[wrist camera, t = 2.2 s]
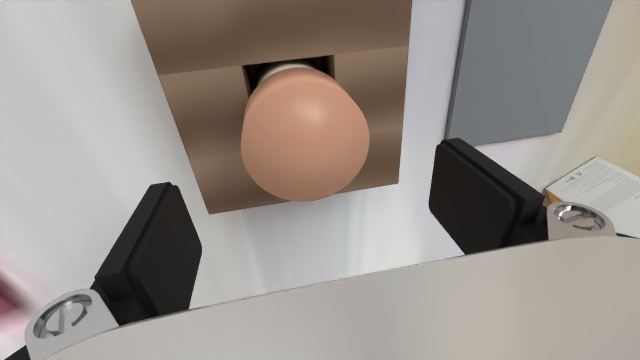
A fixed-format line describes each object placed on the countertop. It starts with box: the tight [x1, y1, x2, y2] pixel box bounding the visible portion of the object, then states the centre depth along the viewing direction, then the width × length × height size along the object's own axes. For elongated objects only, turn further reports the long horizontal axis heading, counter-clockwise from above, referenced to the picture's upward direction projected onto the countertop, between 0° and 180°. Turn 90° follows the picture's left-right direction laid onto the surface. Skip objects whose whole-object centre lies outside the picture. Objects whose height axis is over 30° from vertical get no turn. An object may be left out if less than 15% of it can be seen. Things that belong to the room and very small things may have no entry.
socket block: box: [131, 0, 412, 214], centre depth 20 cm, size 14×14×6 cm
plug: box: [241, 58, 369, 201], centre depth 18 cm, size 6×6×11 cm
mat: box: [445, 0, 613, 146], centre depth 25 cm, size 16×12×1 cm
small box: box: [545, 157, 640, 238], centre depth 30 cm, size 8×6×13 cm
